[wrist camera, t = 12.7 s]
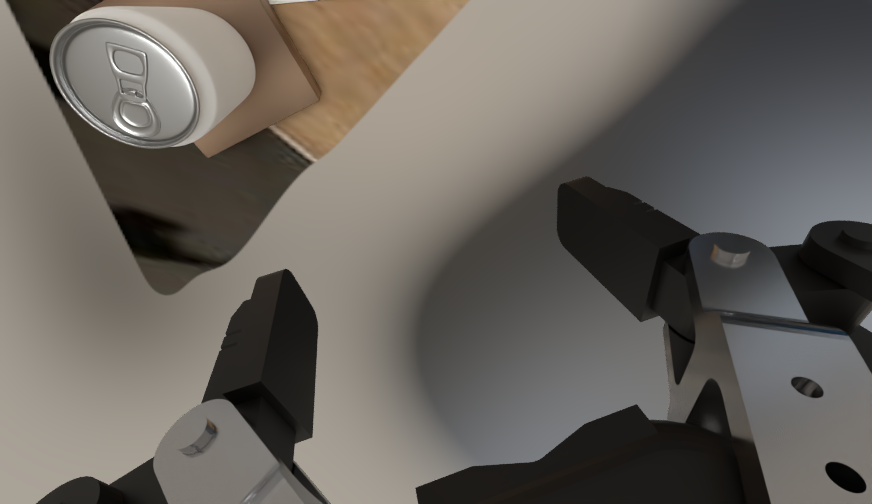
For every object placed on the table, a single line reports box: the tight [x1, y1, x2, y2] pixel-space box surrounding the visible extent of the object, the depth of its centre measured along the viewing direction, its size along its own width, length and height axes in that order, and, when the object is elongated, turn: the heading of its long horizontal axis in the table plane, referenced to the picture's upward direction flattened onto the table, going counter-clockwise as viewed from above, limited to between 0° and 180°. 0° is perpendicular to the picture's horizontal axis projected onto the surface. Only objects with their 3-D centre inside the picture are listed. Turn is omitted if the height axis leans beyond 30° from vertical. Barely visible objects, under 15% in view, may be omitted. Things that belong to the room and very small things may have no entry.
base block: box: [83, 0, 321, 158], centre depth 27 cm, size 11×11×4 cm
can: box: [50, 6, 256, 149], centre depth 21 cm, size 6×6×12 cm
